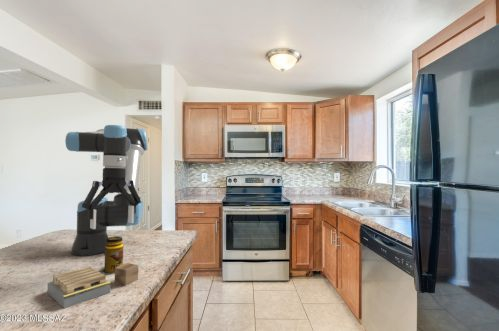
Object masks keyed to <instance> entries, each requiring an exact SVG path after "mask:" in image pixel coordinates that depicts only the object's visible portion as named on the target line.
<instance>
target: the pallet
mask: <svg viewBox="0 0 499 331" xmlns="http://www.w3.org/2000/svg"><path fill="white" fill-rule="evenodd" d="M98 271H99V270H97V269H95V268H93V267H91V266H85V267H82V268H78V269H74V270H71V271H66V272H63V273H59V274H54V275H53V276H52V277H53V278H52V281H53V283H54V284H55V285H57V286H58V287H59V288H60V289H61V290H63V291H64V292H65V293H66V294H71V293H74V288H77V287H82V288H84V289H87V288H90V287H91V283H94V282H97V283H99V284H103V283H106V280H107V278H106V274H102V273H100V272H98Z"/></svg>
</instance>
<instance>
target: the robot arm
mask: <svg viewBox="0 0 499 331" xmlns="http://www.w3.org/2000/svg"><path fill="white" fill-rule="evenodd" d="M64 142H65V147H66V149H67V150H68V151H69V152H83V153H85V152H86V153H102V154H103V155H102V157H103V158H102V167H103V168H102V181H98V180H94V181H92V184H91V188H90V190H89V192H88V193H87V195H86V197H85V199H84V200H82V201H80V202H78V204H77V209H76V210H77V211H76V235H75V238H74V240H73V243H72V246H71V251H70V252H71V254H72V255H74V256H84V257H85V256H94V255H99V254H103V253H105V246H106V242H107V241H106V240H107V238H109V235H108V232H107V231H108V229H107V228H108V227H130V226H132V227H133V226H137V225H138V224H140V222H141V220H142V216H143V209H144V201H143V200H142V199H141V196H140V195H139V194H138V192H139V191H138V190H139V179H140V171H141V170H140V168H141V156H142V155H144V154H145V151H148V144H147V142H148V141H147V133H146V130H145V129H140V128H137V127H136V128H129V127H126V126H123V125H117V124H108V125H105V126H104V128H100V129H97V130H96V131H84V132H82V131H81V132H80V131H69V132H68V133H66V135H65V140H64ZM100 187H102V189H101V190H100V192H99V194H98V195H96V194H97V192H98V190H99V188H100ZM114 193H117V194H115V195H114V197H113V200H109V199H108V197H106V195H108V194H114ZM95 195H96V197H95Z"/></svg>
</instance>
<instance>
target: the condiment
mask: <svg viewBox="0 0 499 331" xmlns="http://www.w3.org/2000/svg"><path fill="white" fill-rule="evenodd" d="M106 241H107V242H106V246H105V252H104V266H101V267H100V269H99V270H97V271H98V272H100V273H102V274H104V275H115V268H116V267H118V266H121V265H123V264H124V244H123V237H122V236H115V235H114V236H108V238H107V240H106Z"/></svg>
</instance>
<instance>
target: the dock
mask: <svg viewBox="0 0 499 331" xmlns="http://www.w3.org/2000/svg"><path fill="white" fill-rule="evenodd" d="M111 285H112V284H111V281H110V280H108V279H106V283H103V284H99V283H97V282H94V283H91V287H90V288H87V289H84V288H82V287H77V288H74V293H71V294H66V293H65V292H64V291H63V290H61V289H60V288H59V287H58V286H57V285H55V284H54V283H53V280H51V281H47V290H46V293H47V294H48V295H49V296H50V297H52V299H53V300H55V301H56V302H57V303H58V305H59V306H61V307H62V309H66V308H70V307H72V306H75V305H78V304H81V303H84V302H87V301H88V300H92V299H94V298H98V297H101V296H104V295H107V294H109V293H111Z"/></svg>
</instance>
